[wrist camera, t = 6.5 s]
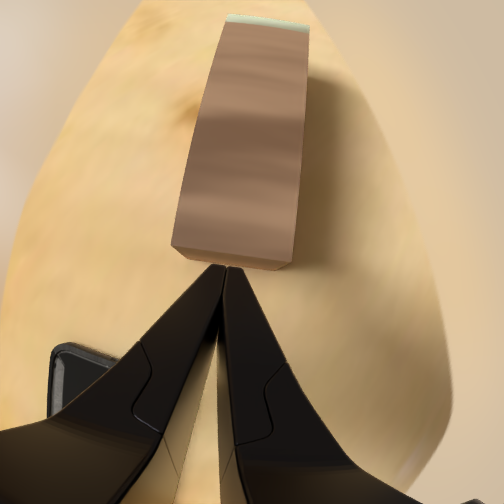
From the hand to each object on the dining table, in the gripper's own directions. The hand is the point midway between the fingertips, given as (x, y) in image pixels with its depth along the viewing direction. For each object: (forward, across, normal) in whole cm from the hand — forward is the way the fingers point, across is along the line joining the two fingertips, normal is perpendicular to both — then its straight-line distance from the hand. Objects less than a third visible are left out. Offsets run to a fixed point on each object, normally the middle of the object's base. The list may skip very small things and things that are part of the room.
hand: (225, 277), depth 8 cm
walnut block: (+4, 0, +3) cm, 5 cm away
